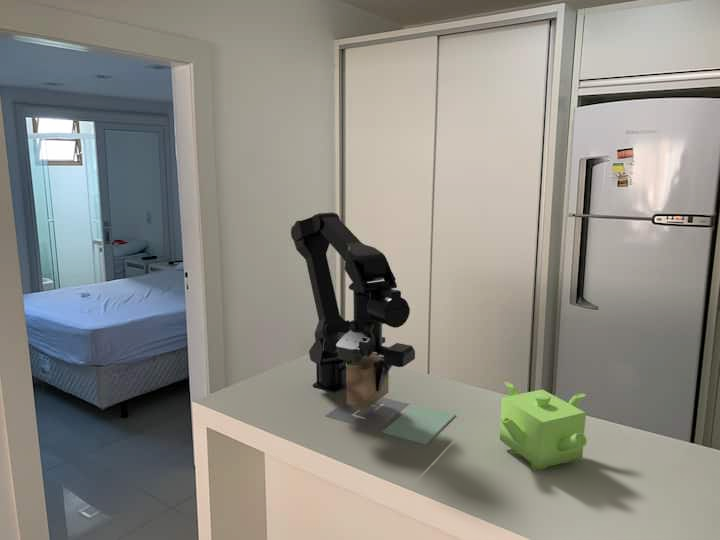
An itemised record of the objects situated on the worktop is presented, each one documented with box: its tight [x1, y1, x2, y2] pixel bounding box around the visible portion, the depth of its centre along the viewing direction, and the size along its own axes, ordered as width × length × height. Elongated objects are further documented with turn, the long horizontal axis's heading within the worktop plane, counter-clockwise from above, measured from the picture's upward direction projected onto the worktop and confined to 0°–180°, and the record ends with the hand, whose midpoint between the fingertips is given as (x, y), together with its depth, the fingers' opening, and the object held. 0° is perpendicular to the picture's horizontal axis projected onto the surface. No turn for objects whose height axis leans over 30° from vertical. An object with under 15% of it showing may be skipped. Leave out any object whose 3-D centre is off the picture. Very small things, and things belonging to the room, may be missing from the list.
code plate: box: [324, 396, 410, 431], centre depth 117 cm, size 12×14×1 cm
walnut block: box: [345, 354, 390, 408], centre depth 115 cm, size 5×9×8 cm, turn 148°
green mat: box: [382, 404, 457, 446], centre depth 110 cm, size 9×14×1 cm, turn 148°
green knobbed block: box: [499, 381, 588, 472], centre depth 98 cm, size 15×14×11 cm
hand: (368, 388), depth 116 cm, fingers closed on walnut block, 5 cm apart
